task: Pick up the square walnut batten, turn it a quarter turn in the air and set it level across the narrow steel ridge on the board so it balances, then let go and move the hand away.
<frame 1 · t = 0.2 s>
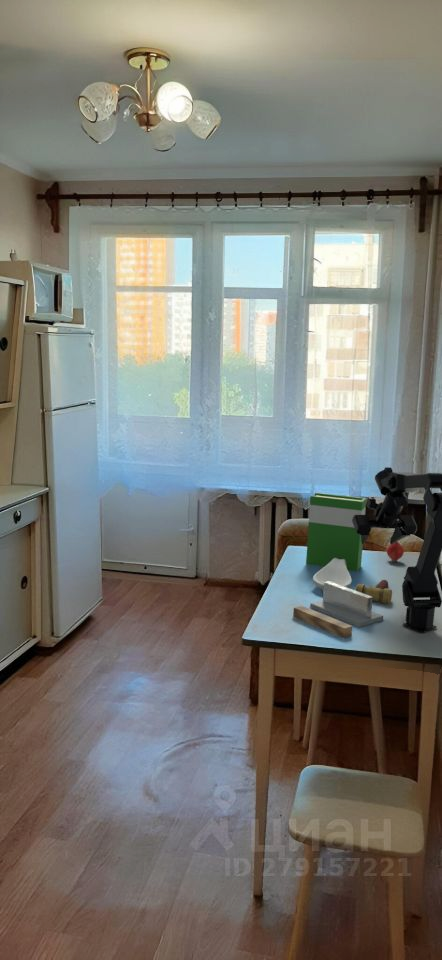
hand: (376, 543, 218), 15 cm above the table, tool tilted 30°, fingers open, 9 cm apart
onion: (394, 561, 254), on the table
steel ridge: (347, 599, 198), on the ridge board, point 4 cm above the table
hardback book: (333, 565, 246), on the table
gavel: (378, 594, 218), on the table
walnut batten: (321, 627, 188), on the table
spoon rest: (334, 585, 224), on the table
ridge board: (345, 613, 198), on the table
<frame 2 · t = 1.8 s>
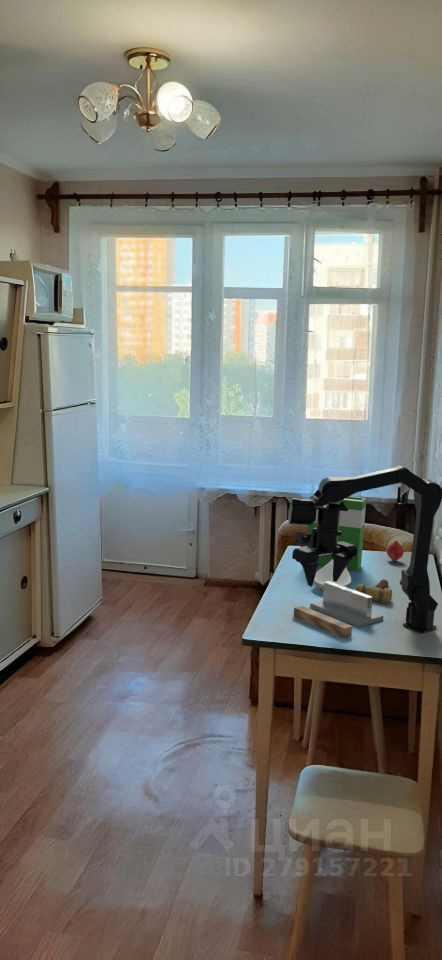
hand: (322, 583, 188), 11 cm above the table, tool pointing down, fingers open, 9 cm apart
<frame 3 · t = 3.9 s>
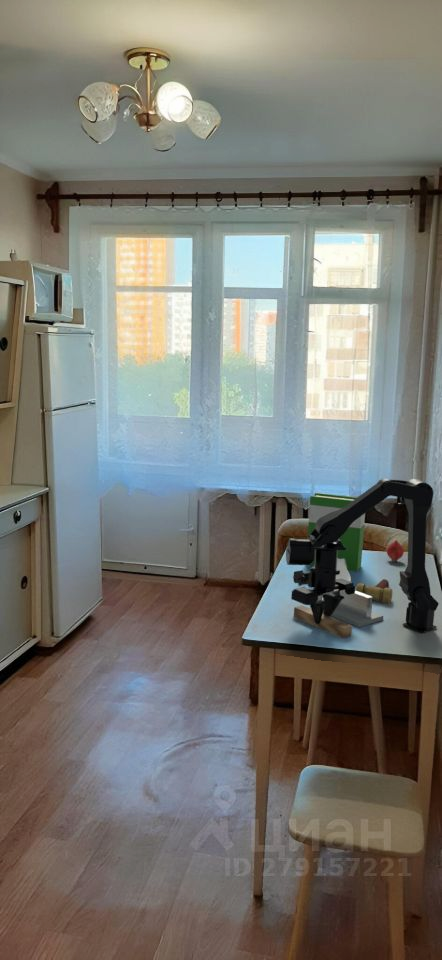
hand: (321, 622, 188), 1 cm above the table, tool pointing down, fingers closed on walnut batten, 3 cm apart
walnut batten: (321, 627, 188), on the table, touching gripper
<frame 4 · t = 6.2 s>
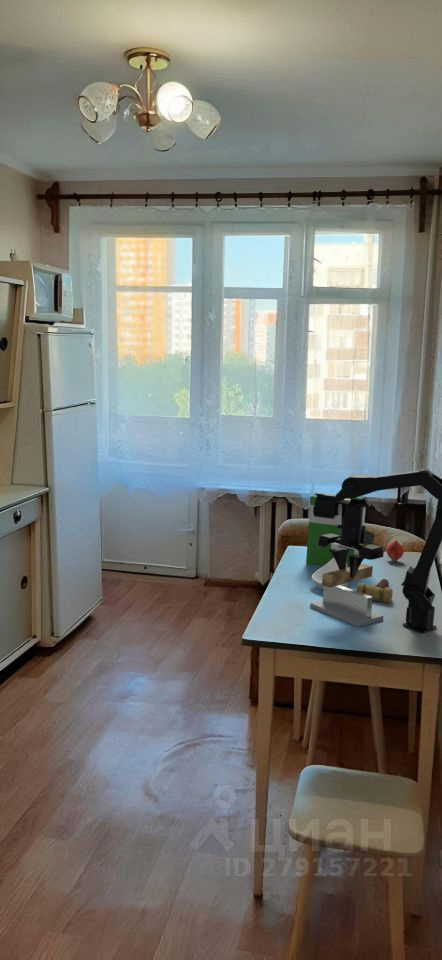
hand: (347, 576, 196), 11 cm above the table, tool pointing down, fingers closed on walnut batten, 3 cm apart
walnut batten: (347, 580, 196), point 10 cm above the table, touching gripper
when the fingers open (9 cm above the table, at t = 8.2 s): walnut batten stays where it is, resting on steel ridge.
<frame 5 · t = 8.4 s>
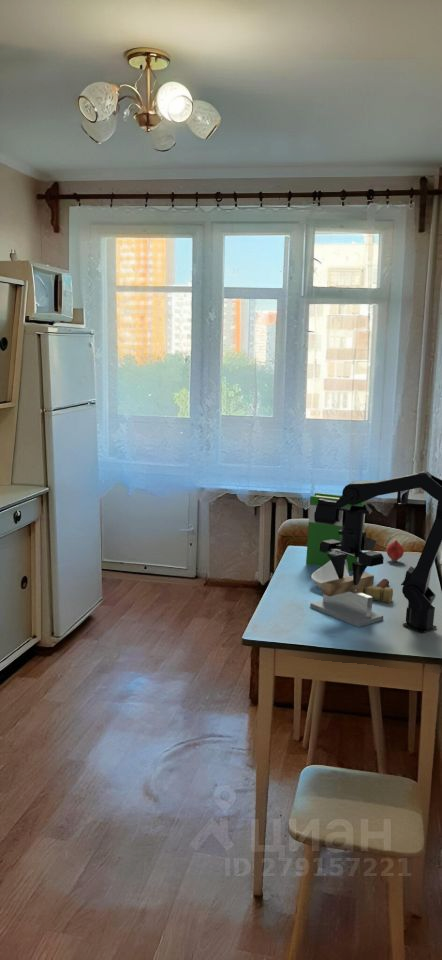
hand: (348, 582, 197), 9 cm above the table, tool pointing down, fingers open, 5 cm apart
walnut batten: (347, 589, 197), point 7 cm above the table, touching steel ridge
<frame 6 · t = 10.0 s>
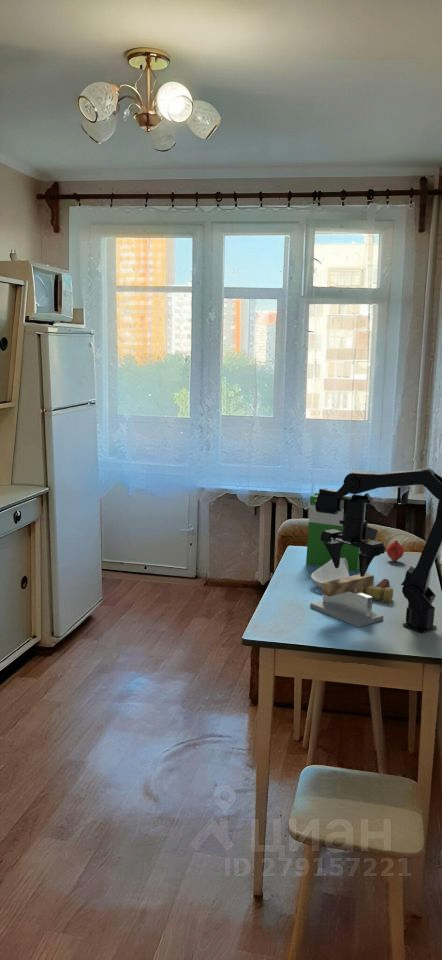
hand: (349, 572, 197), 12 cm above the table, tool pointing down, fingers open, 9 cm apart
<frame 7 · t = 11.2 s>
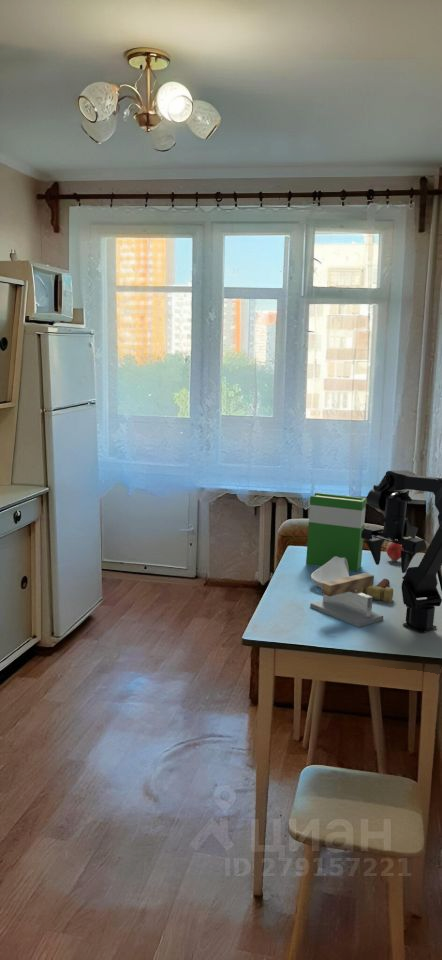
hand: (390, 568, 201), 12 cm above the table, tool pointing down, fingers open, 9 cm apart
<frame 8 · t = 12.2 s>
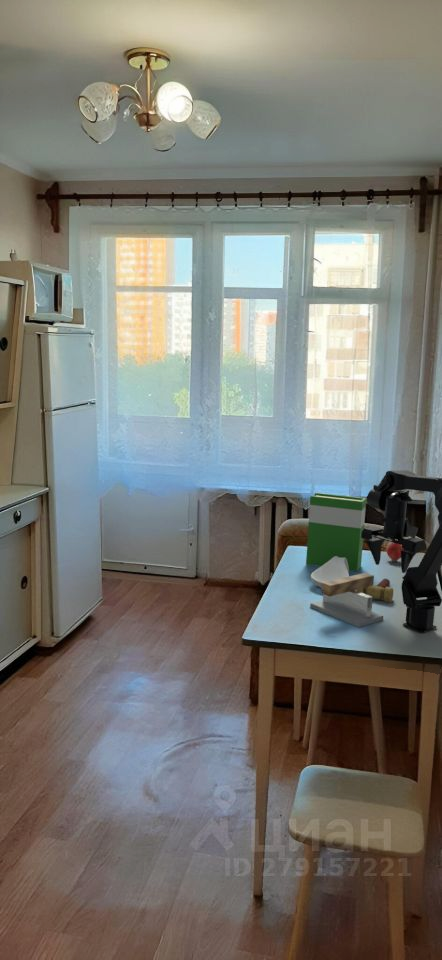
hand: (390, 568, 201), 12 cm above the table, tool pointing down, fingers open, 9 cm apart
at the end: walnut batten touching steel ridge; walnut batten tilted 0°; walnut batten point 7.0 cm above the table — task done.
